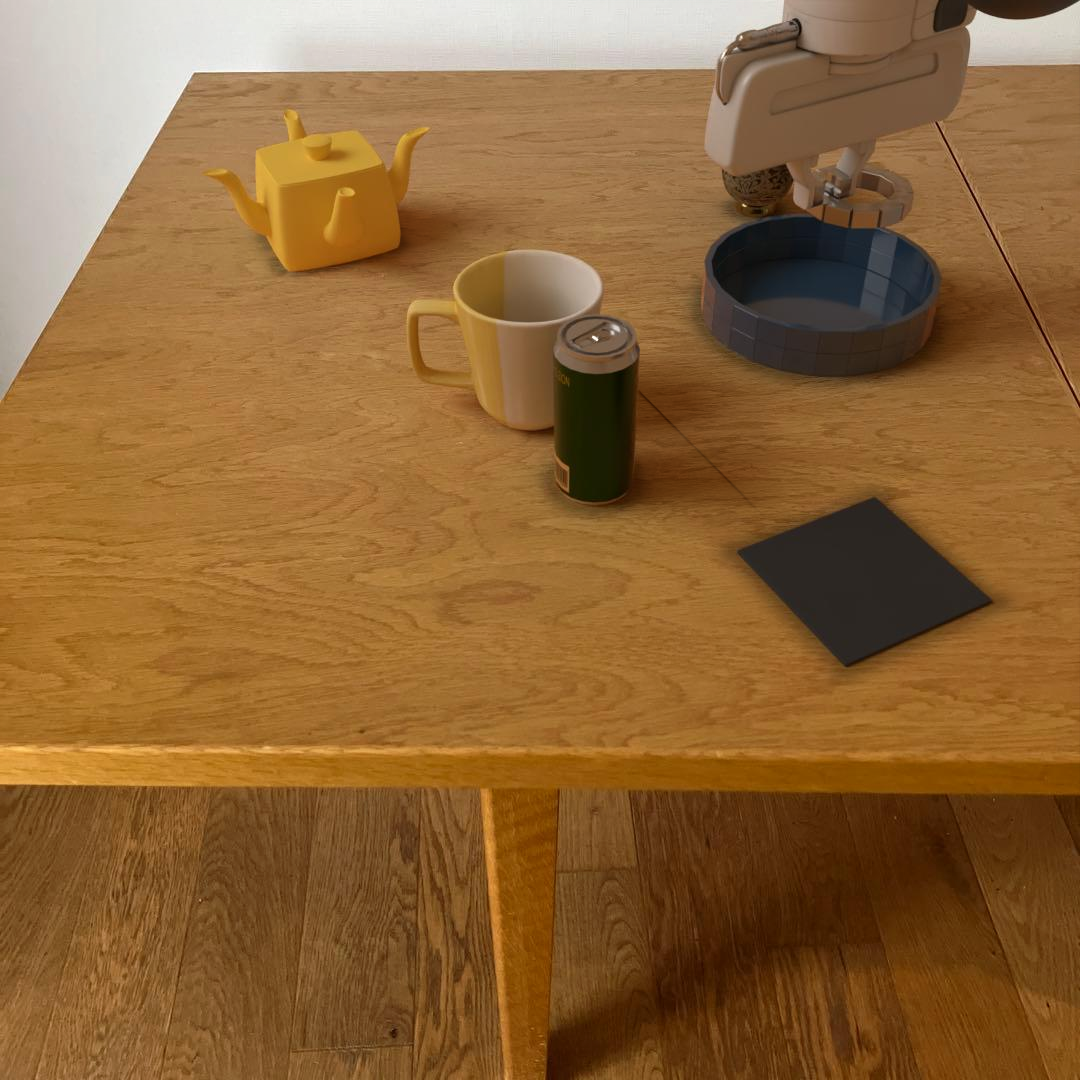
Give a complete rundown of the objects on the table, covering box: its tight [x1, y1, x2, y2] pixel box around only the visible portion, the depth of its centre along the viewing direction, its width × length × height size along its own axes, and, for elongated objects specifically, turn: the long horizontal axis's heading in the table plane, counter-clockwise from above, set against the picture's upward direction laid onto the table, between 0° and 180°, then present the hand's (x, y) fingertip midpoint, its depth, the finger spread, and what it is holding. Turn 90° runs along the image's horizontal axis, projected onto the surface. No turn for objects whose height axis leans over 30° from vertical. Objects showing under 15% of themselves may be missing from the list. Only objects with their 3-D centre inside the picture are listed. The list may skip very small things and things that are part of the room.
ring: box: [805, 163, 915, 229], centre depth 91 cm, size 8×8×1 cm
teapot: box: [200, 108, 430, 272], centre depth 104 cm, size 15×14×10 cm
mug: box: [405, 248, 605, 432], centre depth 85 cm, size 14×10×10 cm
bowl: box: [700, 213, 943, 378], centre depth 95 cm, size 18×18×4 cm
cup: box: [721, 164, 795, 219], centre depth 107 cm, size 8×7×8 cm
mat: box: [736, 496, 993, 668], centre depth 74 cm, size 11×11×1 cm
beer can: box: [553, 313, 641, 507], centre depth 78 cm, size 5×5×12 cm
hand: (823, 200), depth 89 cm, fingers closed on ring, 1 cm apart
